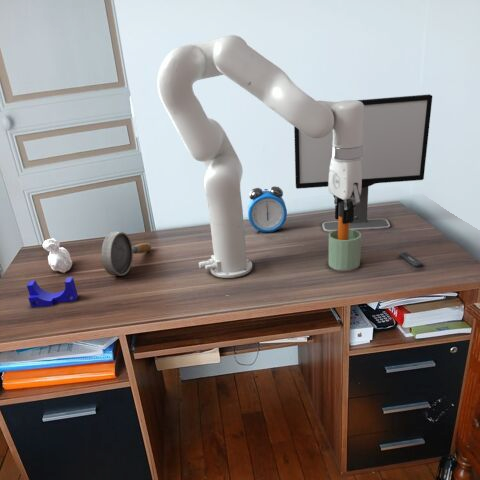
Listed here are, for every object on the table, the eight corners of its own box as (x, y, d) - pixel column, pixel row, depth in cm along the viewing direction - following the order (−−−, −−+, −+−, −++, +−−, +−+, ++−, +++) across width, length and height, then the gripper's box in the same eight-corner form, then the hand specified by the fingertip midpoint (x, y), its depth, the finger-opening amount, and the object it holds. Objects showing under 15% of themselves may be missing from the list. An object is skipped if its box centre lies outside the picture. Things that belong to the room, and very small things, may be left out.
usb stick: (398, 257, 149) (398, 252, 148) (406, 255, 149) (406, 251, 148) (415, 270, 141) (415, 265, 140) (423, 268, 141) (424, 263, 140)
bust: (66, 267, 168) (38, 244, 163) (81, 252, 166) (53, 228, 161) (59, 283, 157) (28, 259, 153) (75, 267, 155) (44, 242, 150)
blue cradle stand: (31, 307, 140) (24, 288, 137) (36, 299, 144) (30, 280, 141) (74, 303, 140) (68, 284, 137) (78, 296, 144) (72, 277, 141)
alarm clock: (249, 234, 174) (246, 191, 166) (249, 228, 179) (246, 186, 171) (287, 231, 173) (286, 188, 166) (285, 225, 179) (284, 183, 171)
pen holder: (338, 274, 142) (338, 243, 137) (322, 262, 150) (322, 232, 145) (366, 267, 144) (367, 236, 140) (349, 256, 152) (350, 226, 147)
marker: (340, 255, 143) (342, 205, 136) (334, 251, 146) (336, 202, 138) (350, 252, 144) (352, 203, 137) (344, 249, 147) (346, 200, 139)
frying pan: (142, 226, 167) (100, 233, 144) (151, 227, 166) (109, 234, 143) (144, 265, 171) (102, 278, 148) (152, 266, 170) (111, 279, 147)
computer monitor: (297, 233, 171) (294, 107, 150) (295, 224, 178) (292, 103, 158) (420, 226, 168) (434, 96, 148) (414, 217, 175) (426, 92, 155)
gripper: (318, 148, 136) (317, 214, 146) (350, 161, 123) (347, 232, 132) (343, 145, 138) (340, 209, 148) (377, 156, 125) (372, 227, 134)
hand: (343, 219), depth 140 cm, fingers closed on marker, 3 cm apart
